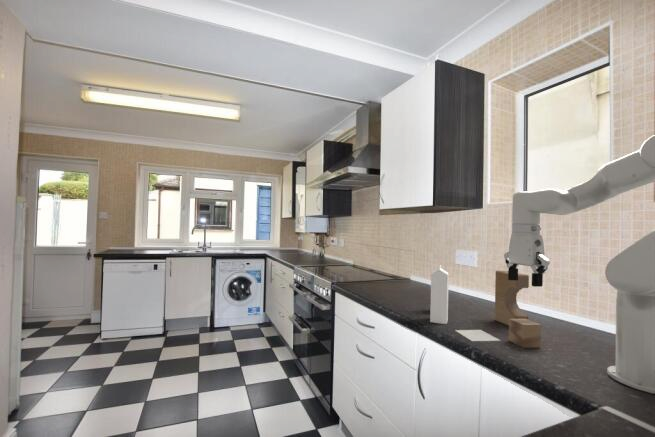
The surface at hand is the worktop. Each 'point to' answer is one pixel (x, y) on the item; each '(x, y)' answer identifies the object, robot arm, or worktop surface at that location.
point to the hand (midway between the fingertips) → (524, 283)
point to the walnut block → (525, 333)
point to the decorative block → (508, 296)
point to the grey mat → (477, 335)
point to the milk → (439, 296)
